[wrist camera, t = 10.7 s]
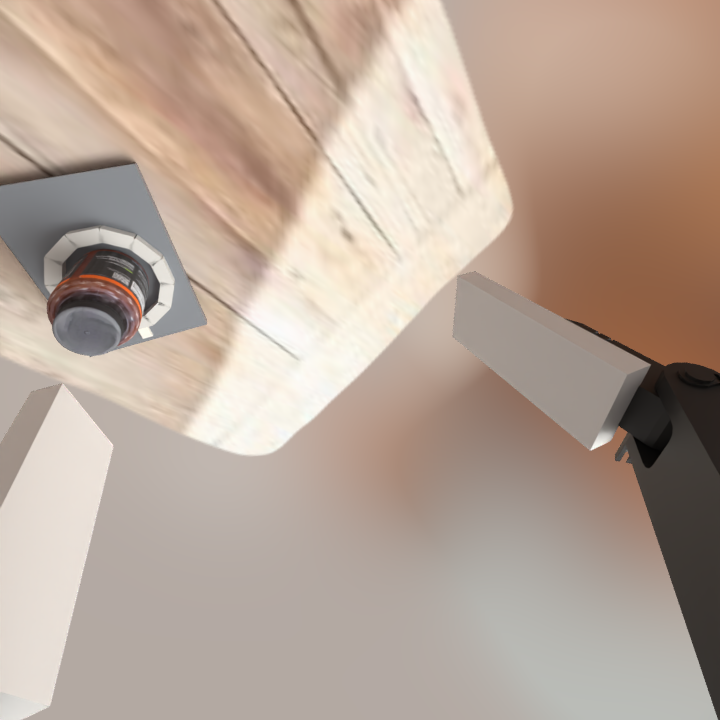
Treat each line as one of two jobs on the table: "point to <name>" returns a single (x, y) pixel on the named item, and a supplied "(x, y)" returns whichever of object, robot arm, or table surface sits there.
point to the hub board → (99, 238)
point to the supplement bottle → (98, 302)
